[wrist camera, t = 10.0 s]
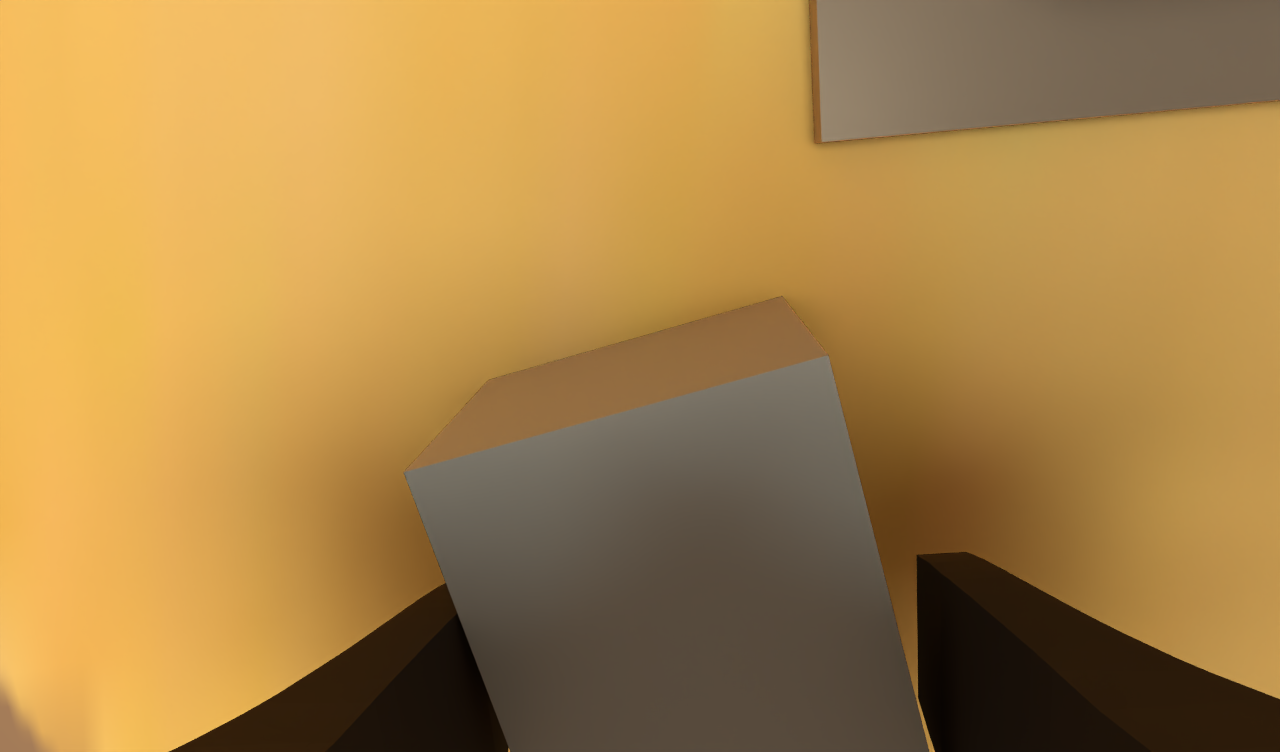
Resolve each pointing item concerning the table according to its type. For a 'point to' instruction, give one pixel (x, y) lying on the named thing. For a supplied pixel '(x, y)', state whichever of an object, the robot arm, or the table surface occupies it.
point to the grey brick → (671, 549)
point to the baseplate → (1032, 61)
